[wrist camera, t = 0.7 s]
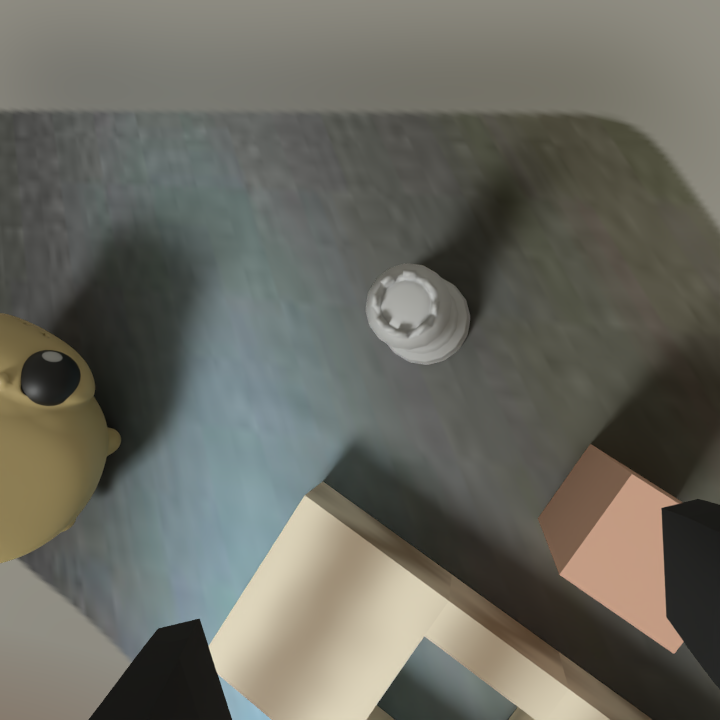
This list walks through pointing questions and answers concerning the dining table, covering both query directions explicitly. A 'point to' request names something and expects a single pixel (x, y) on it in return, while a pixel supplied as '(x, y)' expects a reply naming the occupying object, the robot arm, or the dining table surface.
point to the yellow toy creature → (45, 437)
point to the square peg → (613, 541)
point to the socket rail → (380, 628)
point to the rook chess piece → (418, 313)
